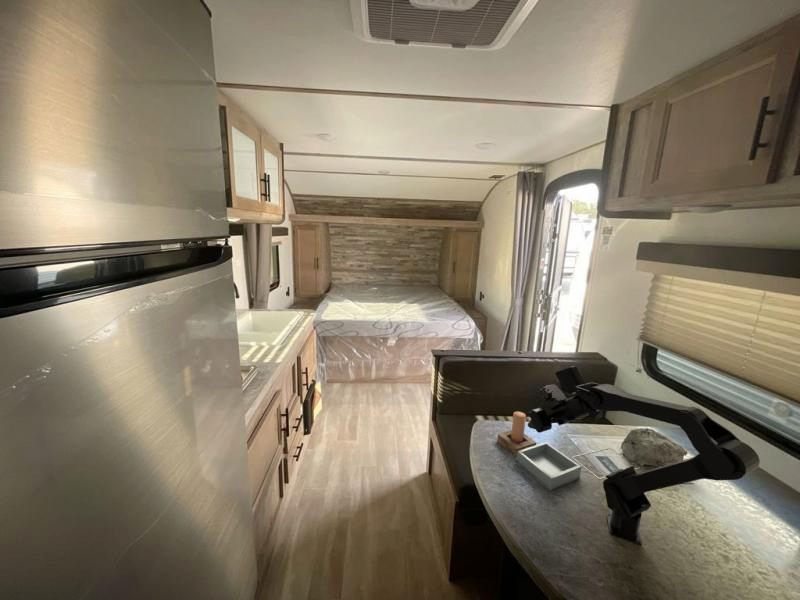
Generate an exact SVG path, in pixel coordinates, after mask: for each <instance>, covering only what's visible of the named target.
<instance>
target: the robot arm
mask: <svg viewBox="0 0 800 600" xmlns="http://www.w3.org/2000/svg"><path fill="white" fill-rule="evenodd" d="M553 375H554V377H555V379H556V381H557V382H558V385H559V386H560V388H561V389H560V388H559V387H558V386H557V385H556V384H554V383H553V384H548V385H544V387H542V388H540V389H539V393H538V395H539V397H540V398H541V399H542V401H544V402H547V403H548V404H547V408H548V410H550V414H548V413H547V412H546V409H544V408H542V407H537V408H535V409H532V410H529V411H528V416H529V419H530V420H529V421H528V423H527V427H528V428H529V429H533V430H535V431H536V432H537V433H538V434H540V433H543V432H546V431H549V430H552V427H553V424H555V423H557V425H558V426H562V425H565V424H572V423H576V422H579V421H582V420H584V419H585V417H587V416H590V418H591V420H592V421H593V422H595V421H598V420H601V419H603V418H604V414H603V413H604V412H605V411H606V412H624V413H625V412H626V413H629V414H633V415H636V416H641V417H644V418H648V419H651V420H656V421H659V422H663V423H665V424H671V425H673V426H678V427H679V428H681V430H682V431H684V433H685V434H686V436H687V438H688V439H689V441H690V443H691V444H692V446H693V448H694V449H695V451H696V452H697V453H698V454H696V455H695V456H693V457H690V458H686V459H683V460H682V461H679V462H675V463H672V464H668V465H665V466H662V467H655V468H652V469H648V470H645V471H636V469H634V466H633V465H631V466H629V467H627V468H620V469H617V470H615V471H614V472H611V473H609V474H605V477H606V478H604V480H603V481H602V488H603V491H604V494H605V495H604V496H605V499H606V505H607V508H608V509H610V510H611V514H609V513H606V520H607V525H608V530H609V533H610V535H611V536H613V537H616V538H619V539H622V540H625V541H628V542H631V543H634V544H636V545H639V546H641V545H642V546H643V541H642V538H641V534H640V531H639V529H640V525H641V520H642V513H643V512H645V511H648V510H649V509H650V508H651V507H652V503H650V501H649V499H648V498H647V496H646V494H645V493H648V492H652V491H656V490H661V489H666V488H669V487H673V486H677V485H682V484H686V483H690V482H694V481H695V482H696V481H700V480H711V481H737V480H740V479H742V478H745V477H746V476H747V475H748V474H750V473H752V472H753V471H755V470H757V469H758V468H759V467H760V461H761V460H760V457H759V455H758V453H757V452H756V451H755V449H754V448H752V446H750V444H747V443H746V442H743V441H742V440H740V439H739V438H738V437H737V436H736V435H735V434H734V433H733V432H732V431H730V430H729V429H728V428H726V427H724V426H723V425H721V424H720V423H718V422H717V421H716V420H714V419H712V418H711V417H710V416H709V415H708V414H707V413H706V412H705V411H704V410H702V409H701V408H698V407H695V406H686V405H682V404H676V403H673V402H668V401H663V400H659V399H654V398H649V397H645V396H640V395H636V394H632V393H630V392H627V391H625V390H624V389H622V388H621V387H618V386H615V385H612V384H610V383H603V384H601V383H600V384H599V383H596V382H593V381H592V382H588V383H586V382H585V381H584V378H583V377H582V375H581V373H580V371H579V368H578V367H577V366H576V365H572V366H570V367H568V368H565V369H562V370H559V371H555V372H554V373H553ZM565 394H568V395H569V396H571V395H573V396H571V397H568V398H567V397H566V395H565ZM574 394H576V395H574ZM716 443H717V444H716Z"/></svg>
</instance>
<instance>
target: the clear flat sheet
mask: <svg viewBox="0 0 800 600" xmlns="http://www.w3.org/2000/svg"><path fill="white" fill-rule="evenodd" d="M609 449H610V450H612V451H613V452H615V453H616V454H618V455H619V456H621V457H622V458H624V459H625V460H627V461H629V463H631V464H633V465H635V466H636V467H635V468H634V469H635V470H637V469H638V470H639V469H641V466H639V465H638V464H635V463H633V462H632V461H631V460H629V459H628V458H627V457H626V456H625V455H622V454H621V453H620V452H618V451H617V450H615V449H613V448H612V447H607V448H606V447H605V448H602V449H599V450H594V451H589V452H586V453H585V452H584V453H582V454H577V455H574V456H571V459H572V460H573V461H574V462H576V463H577V464H579V465H580V466H581V467H583V468H584V469H585V470H587V471H588V472H590V474H592V475H594V477H596V478H597V479H598V480H603V479H607V478H606V476H603V477H599V476H597V475H596V474H595V473H594V472H592V471H591V470H590V469H589V468H587V467H586V466H585V465H584V464H582V463H580V462H579V461H578V460H577V459H575V458H576V457H580V456H584V455H589V454H593V453H596V452H602V451H606V450H609ZM592 452H593V453H592ZM588 453H589V454H588Z"/></svg>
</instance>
